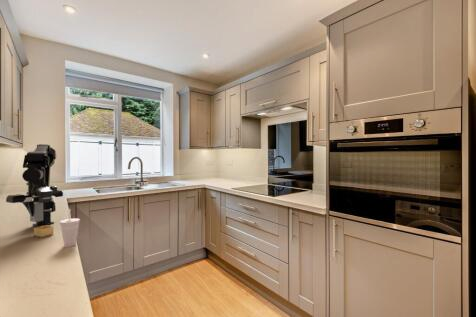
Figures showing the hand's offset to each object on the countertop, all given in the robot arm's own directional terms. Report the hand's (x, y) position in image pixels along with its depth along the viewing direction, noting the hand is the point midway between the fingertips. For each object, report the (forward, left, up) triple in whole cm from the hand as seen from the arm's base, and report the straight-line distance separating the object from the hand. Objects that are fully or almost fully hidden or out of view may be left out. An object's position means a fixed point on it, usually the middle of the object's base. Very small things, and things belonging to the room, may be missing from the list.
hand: (36, 215), depth 102 cm
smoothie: (+28, -2, -8) cm, 29 cm away
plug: (0, 0, -2) cm, 2 cm away
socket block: (+5, 0, -8) cm, 10 cm away
